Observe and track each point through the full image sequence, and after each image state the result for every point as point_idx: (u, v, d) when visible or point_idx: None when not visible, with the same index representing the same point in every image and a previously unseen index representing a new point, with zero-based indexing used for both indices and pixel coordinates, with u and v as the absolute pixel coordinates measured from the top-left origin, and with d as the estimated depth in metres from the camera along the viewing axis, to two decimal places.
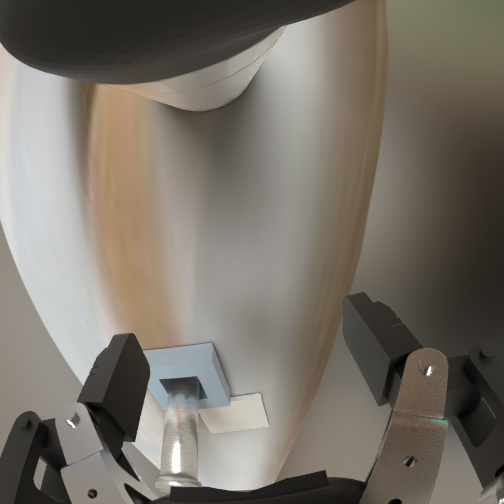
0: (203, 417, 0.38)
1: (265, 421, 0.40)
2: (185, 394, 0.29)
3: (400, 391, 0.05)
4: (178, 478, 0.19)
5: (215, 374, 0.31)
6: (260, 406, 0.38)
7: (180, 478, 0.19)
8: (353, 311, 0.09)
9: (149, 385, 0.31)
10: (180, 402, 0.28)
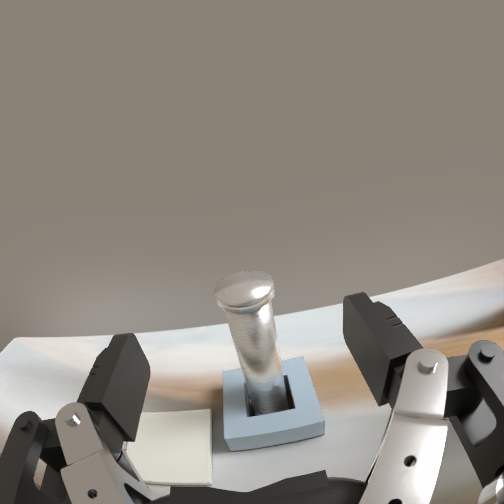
0: (178, 413, 0.29)
1: None
2: (283, 386, 0.26)
3: (400, 391, 0.05)
4: (273, 293, 0.21)
5: (298, 425, 0.23)
6: (185, 478, 0.20)
7: (272, 294, 0.21)
8: (353, 311, 0.09)
9: None
10: (282, 375, 0.26)
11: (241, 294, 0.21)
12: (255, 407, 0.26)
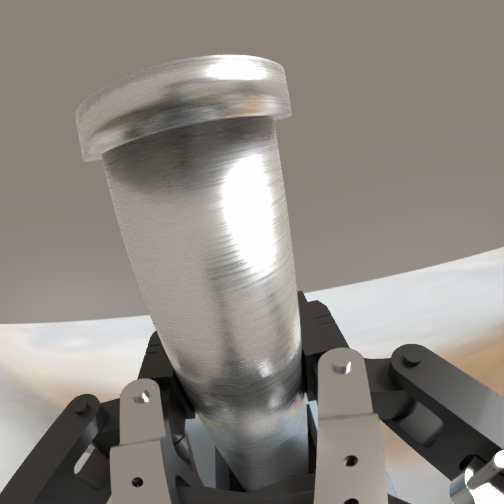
0: None
1: None
2: (305, 441, 0.09)
3: (319, 395, 0.06)
4: (289, 102, 0.05)
5: None
6: None
7: (287, 103, 0.05)
8: None
9: None
10: (306, 416, 0.09)
11: None
12: (237, 477, 0.10)
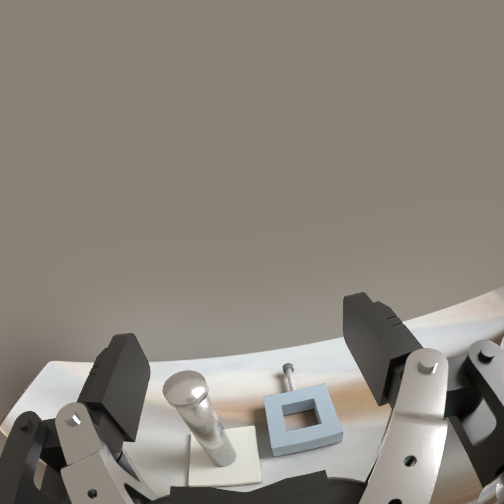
0: (229, 430, 0.36)
1: (203, 483, 0.28)
2: (227, 445, 0.29)
3: (400, 391, 0.05)
4: (206, 394, 0.25)
5: (324, 435, 0.31)
6: (242, 480, 0.28)
7: (205, 396, 0.25)
8: (353, 311, 0.09)
9: (304, 391, 0.39)
10: (225, 438, 0.29)
11: (180, 396, 0.24)
12: (207, 455, 0.30)
